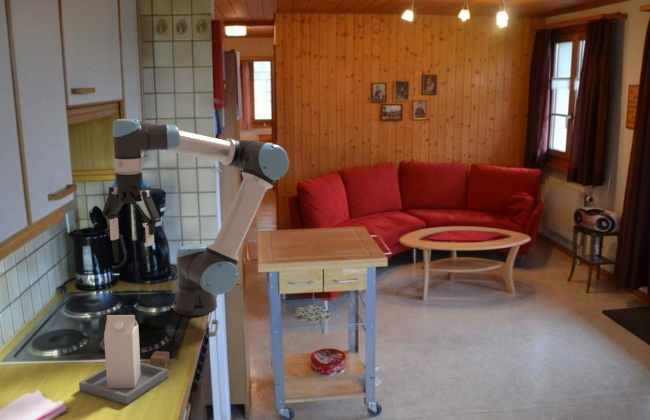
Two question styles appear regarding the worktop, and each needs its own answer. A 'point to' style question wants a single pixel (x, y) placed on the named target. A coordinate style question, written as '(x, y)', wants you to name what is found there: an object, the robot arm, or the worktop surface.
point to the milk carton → (122, 351)
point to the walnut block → (160, 359)
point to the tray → (125, 396)
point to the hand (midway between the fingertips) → (132, 242)
